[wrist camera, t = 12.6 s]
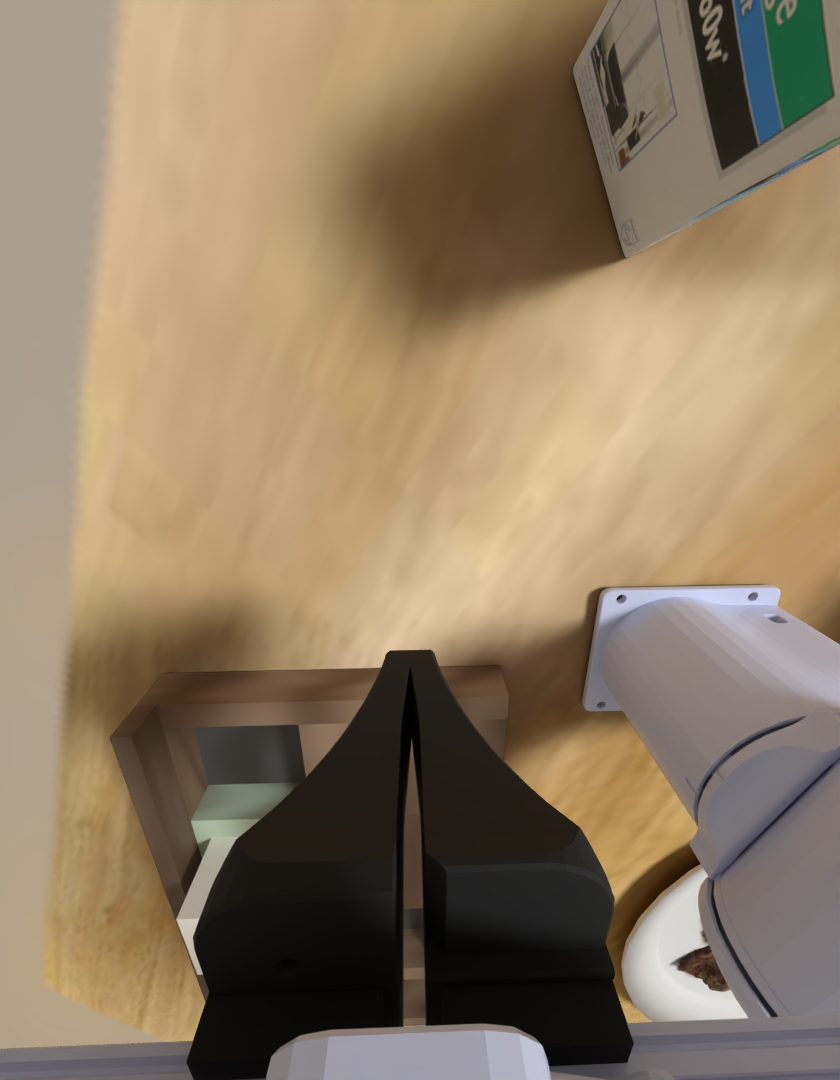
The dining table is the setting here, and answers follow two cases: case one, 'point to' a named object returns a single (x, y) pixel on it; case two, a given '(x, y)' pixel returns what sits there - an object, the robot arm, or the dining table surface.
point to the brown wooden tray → (268, 767)
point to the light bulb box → (705, 103)
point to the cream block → (202, 891)
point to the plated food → (676, 960)
